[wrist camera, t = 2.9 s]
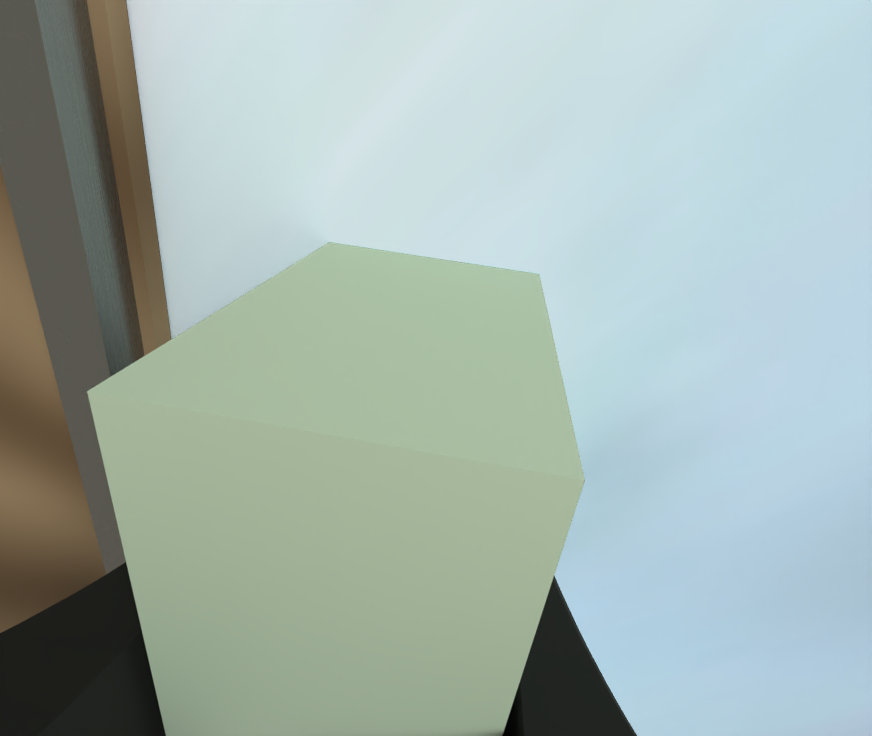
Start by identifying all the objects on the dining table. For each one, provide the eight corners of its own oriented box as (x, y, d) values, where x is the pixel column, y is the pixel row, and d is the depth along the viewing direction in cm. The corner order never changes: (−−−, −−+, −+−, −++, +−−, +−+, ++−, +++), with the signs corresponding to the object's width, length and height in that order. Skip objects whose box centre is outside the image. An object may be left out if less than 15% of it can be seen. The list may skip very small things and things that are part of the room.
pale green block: (462, 627, 13) (432, 952, 8) (321, 598, 14) (202, 896, 8) (539, 273, 9) (584, 480, 4) (329, 242, 9) (86, 391, 4)
